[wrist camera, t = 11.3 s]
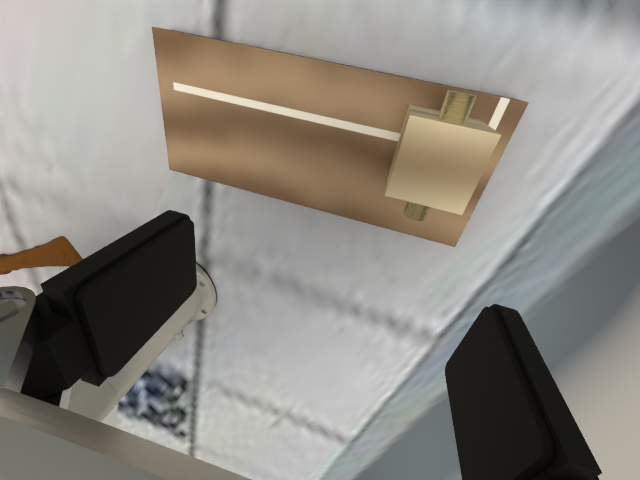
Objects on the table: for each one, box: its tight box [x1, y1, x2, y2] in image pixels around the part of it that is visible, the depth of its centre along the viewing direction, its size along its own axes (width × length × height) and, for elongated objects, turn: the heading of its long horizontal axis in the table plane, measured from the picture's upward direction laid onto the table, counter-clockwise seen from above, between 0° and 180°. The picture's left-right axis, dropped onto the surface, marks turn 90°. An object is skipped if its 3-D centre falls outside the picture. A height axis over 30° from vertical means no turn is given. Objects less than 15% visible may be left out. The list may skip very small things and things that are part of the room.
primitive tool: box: [0, 236, 83, 275], centre depth 47 cm, size 19×6×4 cm, turn 108°
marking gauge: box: [385, 90, 501, 221], centre depth 20 cm, size 8×5×6 cm, turn 170°
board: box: [152, 27, 528, 247], centre depth 26 cm, size 12×29×2 cm, turn 80°
